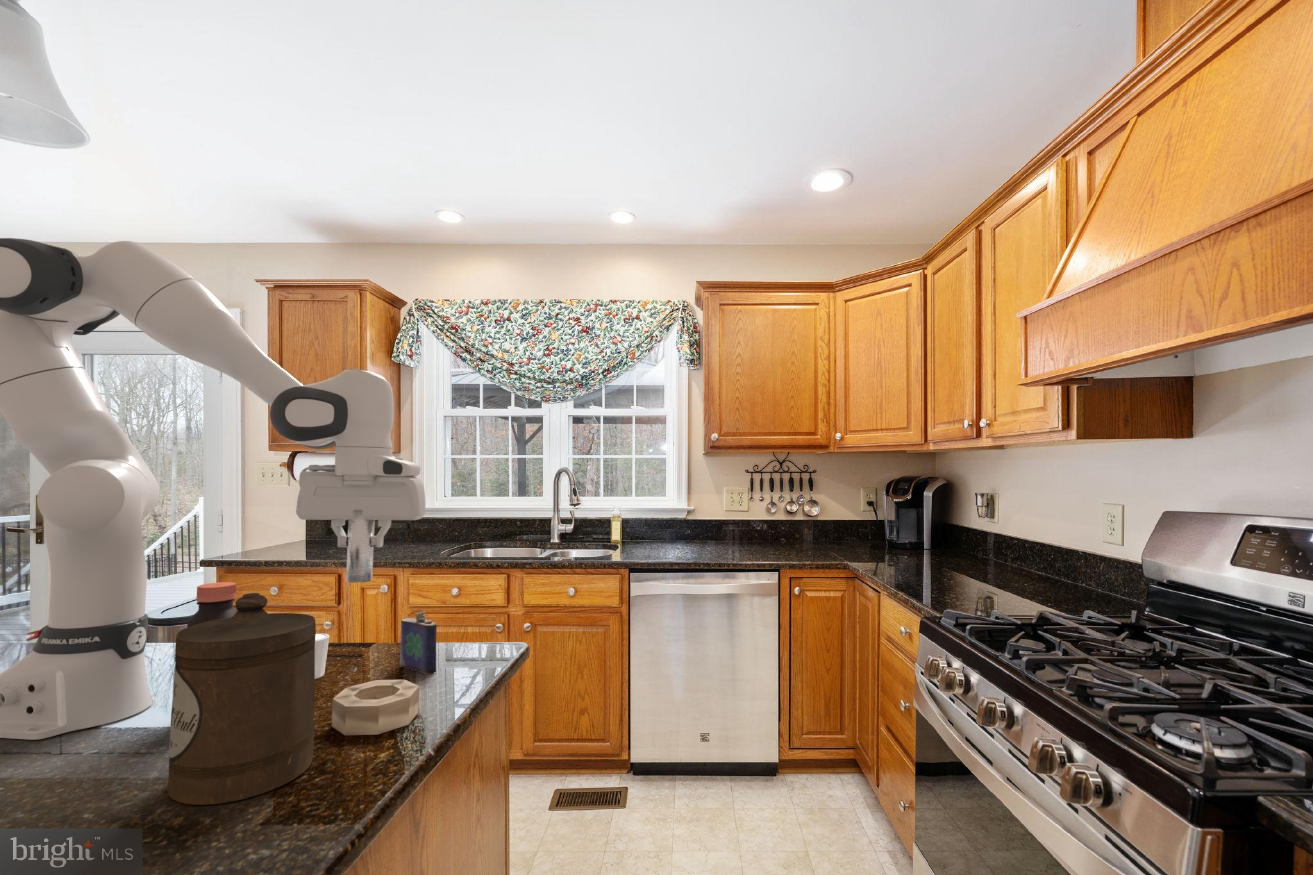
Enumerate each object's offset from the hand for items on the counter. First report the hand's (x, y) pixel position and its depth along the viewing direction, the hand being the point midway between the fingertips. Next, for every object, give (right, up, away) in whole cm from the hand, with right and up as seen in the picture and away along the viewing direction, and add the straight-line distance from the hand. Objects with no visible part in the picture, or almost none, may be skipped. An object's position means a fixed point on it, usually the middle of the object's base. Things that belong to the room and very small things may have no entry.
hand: (360, 546), depth 102 cm
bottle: (-17, -24, -11) cm, 32 cm away
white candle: (0, -6, 0) cm, 6 cm away
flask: (+5, -26, +13) cm, 29 cm away
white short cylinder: (-14, -25, +8) cm, 30 cm away
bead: (+8, -24, -11) cm, 28 cm away
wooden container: (-1, -23, -28) cm, 36 cm away
